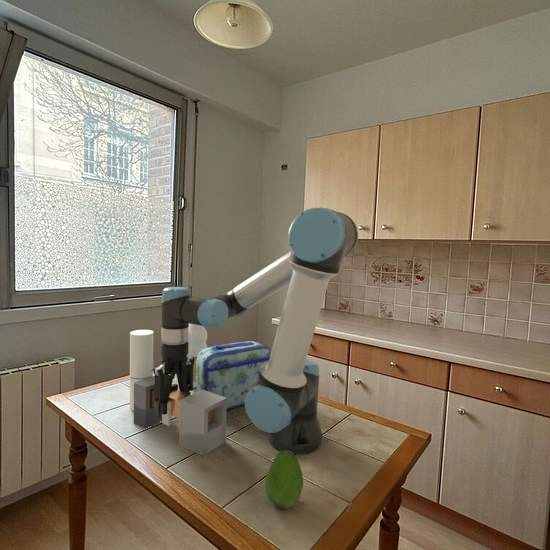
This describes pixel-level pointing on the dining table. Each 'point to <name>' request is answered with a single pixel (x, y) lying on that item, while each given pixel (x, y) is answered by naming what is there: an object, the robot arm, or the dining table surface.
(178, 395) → the square peg
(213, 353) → the lunch box
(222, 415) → the sleeve
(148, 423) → the socket
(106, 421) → the dining table surface
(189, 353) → the fruit juice
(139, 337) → the cylindrical container
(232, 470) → the dining table surface
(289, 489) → the avocado
